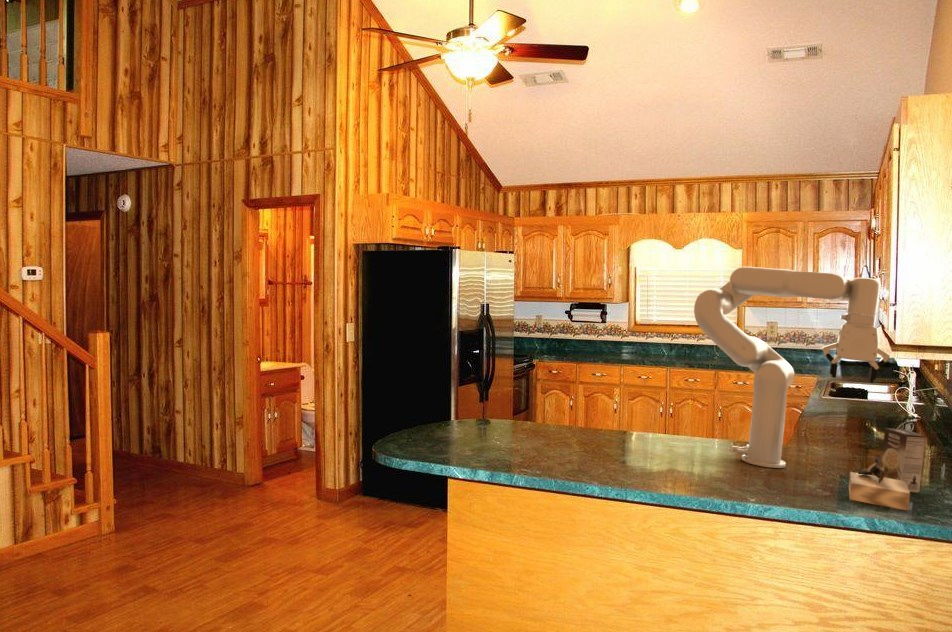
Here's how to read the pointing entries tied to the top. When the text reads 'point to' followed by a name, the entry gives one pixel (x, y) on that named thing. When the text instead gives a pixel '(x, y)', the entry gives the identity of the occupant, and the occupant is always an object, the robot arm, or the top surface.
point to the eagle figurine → (876, 470)
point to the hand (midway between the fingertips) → (851, 379)
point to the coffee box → (903, 456)
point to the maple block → (879, 491)
